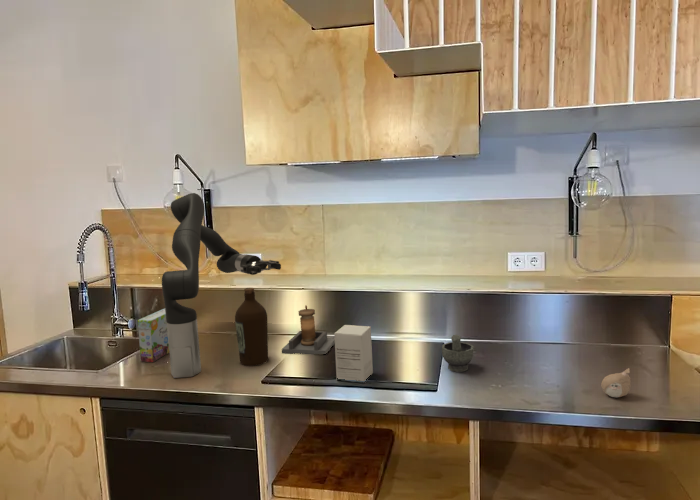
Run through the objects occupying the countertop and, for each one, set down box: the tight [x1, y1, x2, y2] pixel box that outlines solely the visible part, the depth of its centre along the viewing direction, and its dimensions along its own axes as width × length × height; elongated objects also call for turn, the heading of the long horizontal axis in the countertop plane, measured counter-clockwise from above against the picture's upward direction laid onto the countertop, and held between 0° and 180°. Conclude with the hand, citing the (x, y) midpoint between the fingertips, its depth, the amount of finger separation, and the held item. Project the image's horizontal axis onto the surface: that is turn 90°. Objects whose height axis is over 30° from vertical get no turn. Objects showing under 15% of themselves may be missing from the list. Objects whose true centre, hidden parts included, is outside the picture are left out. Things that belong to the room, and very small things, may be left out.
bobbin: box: [298, 304, 316, 346], centre depth 183 cm, size 6×6×14 cm
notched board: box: [281, 330, 335, 355], centre depth 184 cm, size 16×14×4 cm
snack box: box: [137, 307, 169, 363], centre depth 185 cm, size 21×6×15 cm, turn 168°
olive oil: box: [234, 287, 269, 367], centre depth 171 cm, size 11×11×25 cm
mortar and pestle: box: [441, 334, 475, 373], centre depth 157 cm, size 11×9×12 cm
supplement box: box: [333, 324, 374, 381], centre depth 154 cm, size 9×9×15 cm
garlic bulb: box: [600, 367, 632, 398], centre depth 134 cm, size 7×6×8 cm
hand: (270, 268), depth 189 cm, fingers open, 8 cm apart
